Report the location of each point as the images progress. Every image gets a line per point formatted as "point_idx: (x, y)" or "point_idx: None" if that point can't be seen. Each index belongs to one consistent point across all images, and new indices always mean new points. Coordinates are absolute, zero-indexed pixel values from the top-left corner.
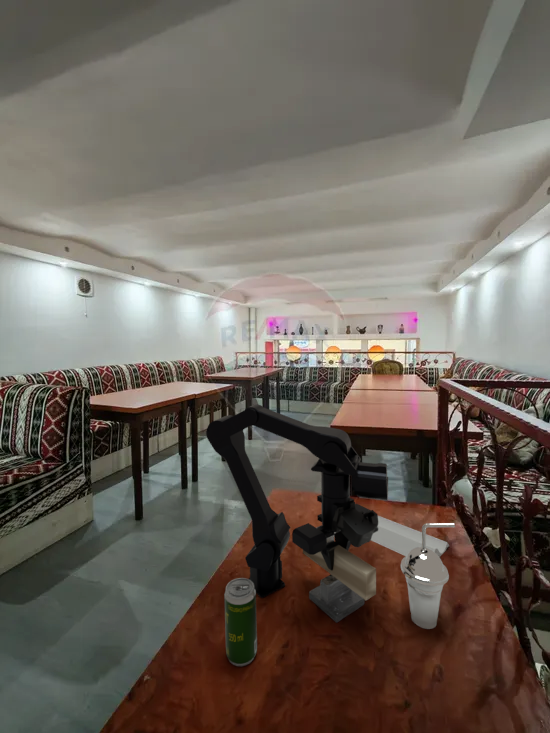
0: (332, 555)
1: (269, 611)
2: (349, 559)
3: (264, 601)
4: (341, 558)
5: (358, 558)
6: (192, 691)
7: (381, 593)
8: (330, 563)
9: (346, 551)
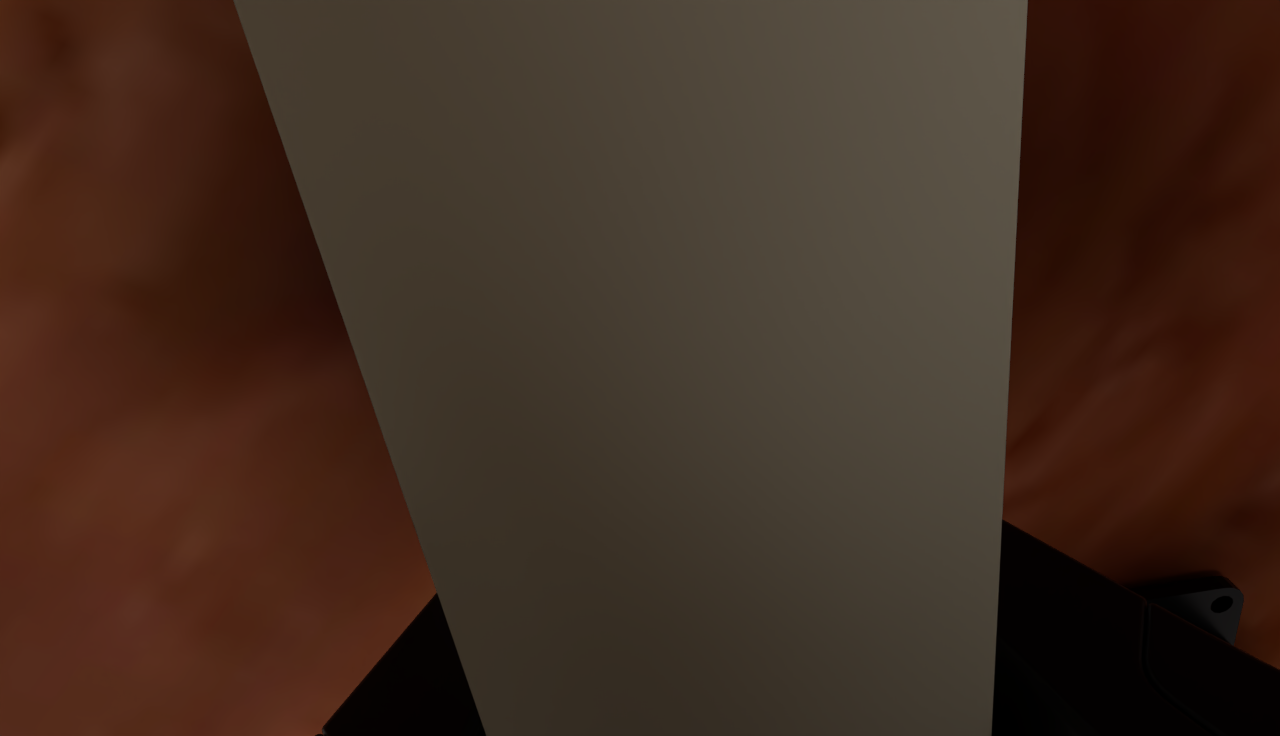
0: (1128, 664)
1: (1276, 428)
2: (807, 200)
3: (1223, 539)
4: (990, 428)
5: (333, 58)
6: None
7: (45, 123)
8: (1003, 524)
9: (553, 654)
